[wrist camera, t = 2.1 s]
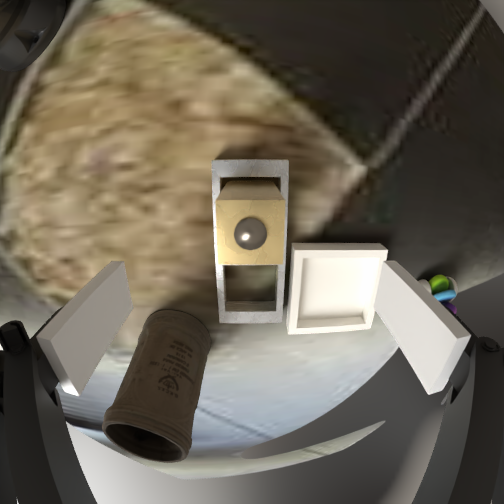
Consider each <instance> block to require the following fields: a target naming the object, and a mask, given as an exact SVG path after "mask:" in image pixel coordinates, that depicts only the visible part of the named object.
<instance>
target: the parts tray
mask: <svg viewBox="0 0 504 504" xmlns="http://www.w3.org/2000/svg"><path fill="white" fill-rule="evenodd" d="M387 253H388V250H387V249H386V248H385V247H384V246H383V245H381V244H380V243H292V246H291V264H290V280H289V295H288V308H287V321H286V325H287V330H288V334H310V333H327V332H341V331H353V330H363V329H370V328H371V324H372V321H373V317H374V313H375V309H374V308H373V306H374V302H375V298H376V293H377V289H378V284H379V279H380V274H381V269H382V263H383V261H386V258H387Z"/></svg>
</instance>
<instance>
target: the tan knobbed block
mask: <svg viewBox="0 0 504 504" xmlns="http://www.w3.org/2000/svg"><path fill="white" fill-rule="evenodd" d="M215 203H216V230H217V252H218V265H269V264H283V253H284V229H285V199H284V197H283V196H282V194H281V193H280V191H279V190H278V188H277V187H276V185H275V184H274V183H273V181H228V182H227V184H226V185H225V187H224V188H223V190H222V191H221V193H220V194H219V196H218V197H217V199H216V200H215Z"/></svg>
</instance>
